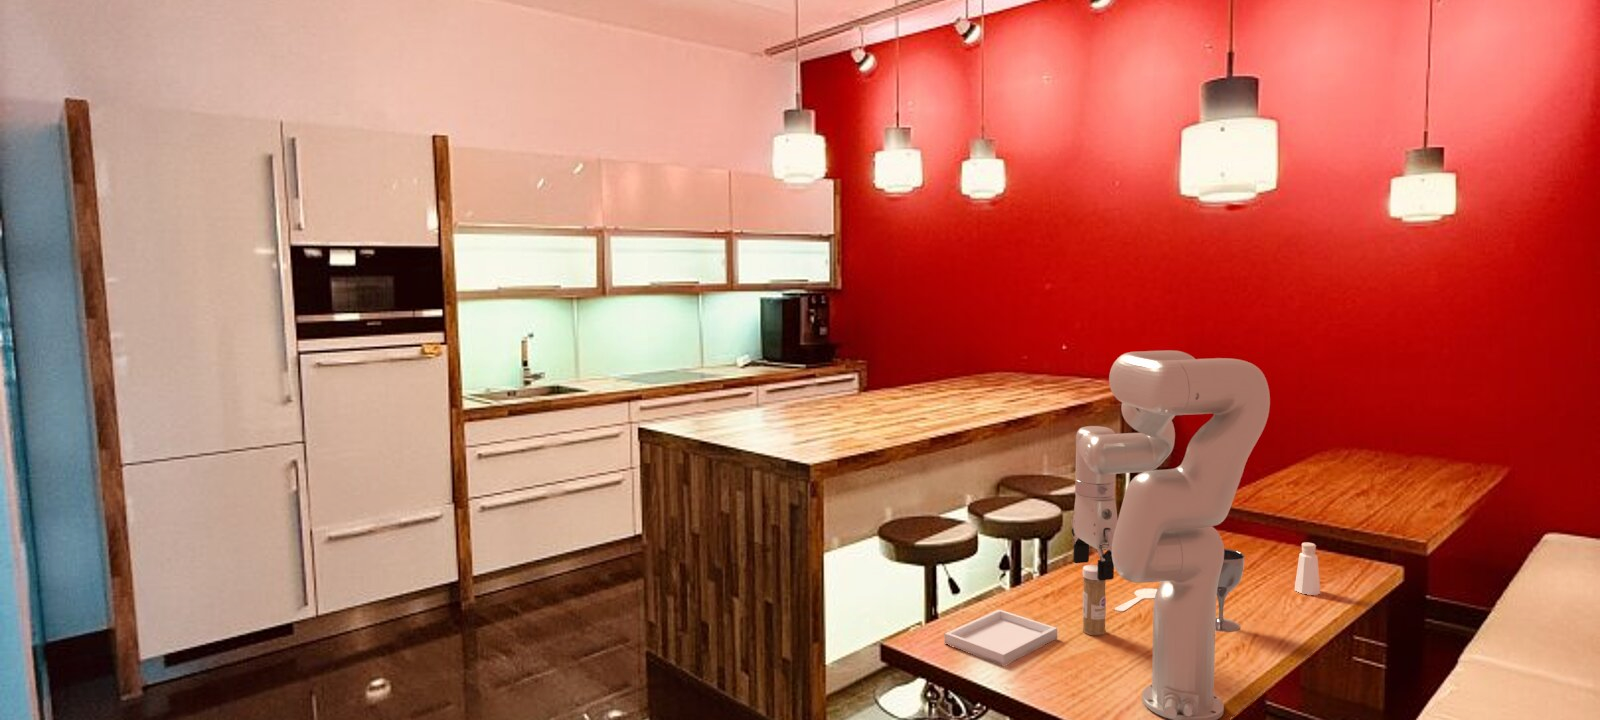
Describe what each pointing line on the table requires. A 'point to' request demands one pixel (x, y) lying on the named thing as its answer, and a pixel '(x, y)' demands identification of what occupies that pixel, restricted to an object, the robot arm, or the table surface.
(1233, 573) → the wine glass
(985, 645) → the tray
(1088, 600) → the sprinkles bottle
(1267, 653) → the table surface
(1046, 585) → the table surface
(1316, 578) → the salt shaker
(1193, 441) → the robot arm
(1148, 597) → the spoon
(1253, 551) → the table surface
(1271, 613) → the table surface
